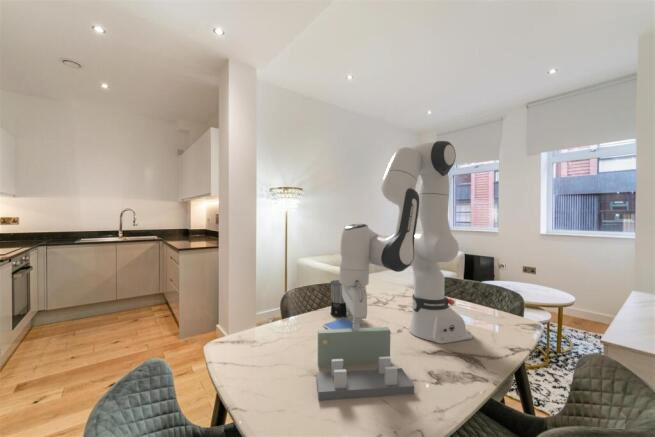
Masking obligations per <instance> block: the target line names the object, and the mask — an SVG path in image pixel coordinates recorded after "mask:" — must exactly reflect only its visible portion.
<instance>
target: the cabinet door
mask: <svg viewBox="0 0 655 437" xmlns="http://www.w3.org/2000/svg"><path fill="white" fill-rule="evenodd" d="M388 356H389V357H390V358H391V329H390V328H389V327H388V326H382V327H381V326H380V327H379V326H378V327H377V326H376V327H365V328H360V329H359V330H354V329H353V328H351V329H327V328H325V329H317V367H318V368H319V367H332V359H343V366H351V365H352V366H353V365H369V364H371V365H373V364H379V357H388Z"/></svg>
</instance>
